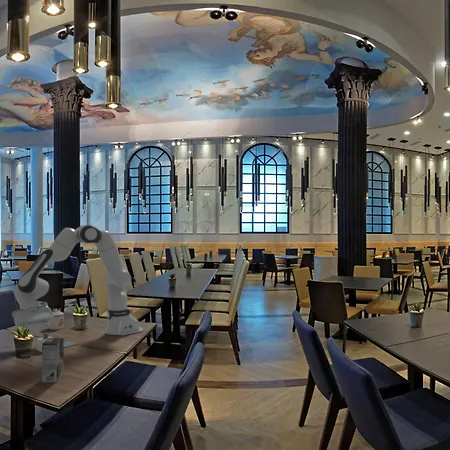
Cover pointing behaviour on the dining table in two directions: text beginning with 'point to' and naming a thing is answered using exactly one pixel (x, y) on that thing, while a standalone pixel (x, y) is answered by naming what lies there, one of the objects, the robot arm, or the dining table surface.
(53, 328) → the teacup with lid
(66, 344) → the felt mat
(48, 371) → the coffee box
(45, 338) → the perfume bottle
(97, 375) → the dining table surface
